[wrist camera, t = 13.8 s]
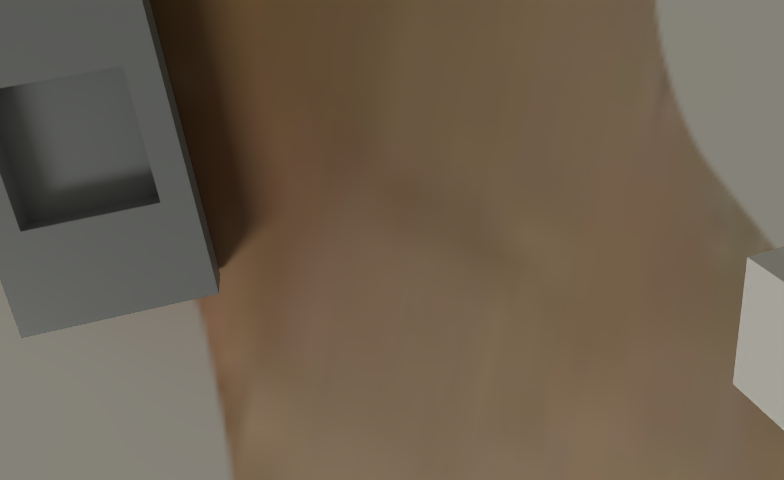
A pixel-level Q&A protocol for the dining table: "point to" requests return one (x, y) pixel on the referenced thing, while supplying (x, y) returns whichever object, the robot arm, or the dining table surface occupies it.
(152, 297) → the fuse holder
